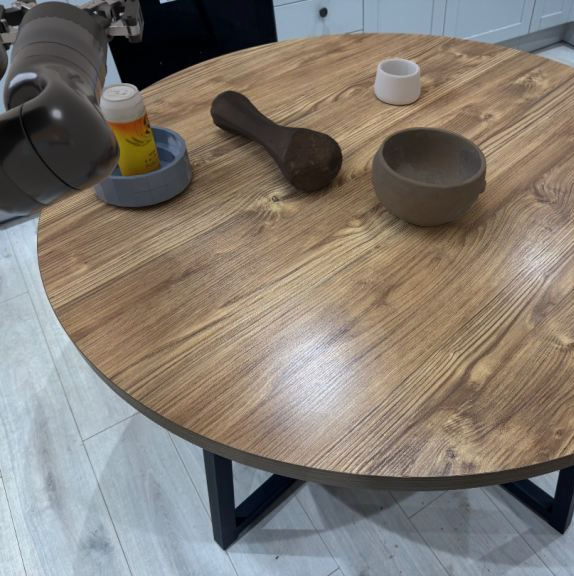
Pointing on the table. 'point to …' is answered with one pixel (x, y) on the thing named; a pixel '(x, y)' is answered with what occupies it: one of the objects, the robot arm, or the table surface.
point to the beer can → (130, 128)
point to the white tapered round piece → (397, 81)
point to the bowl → (428, 175)
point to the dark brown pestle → (281, 142)
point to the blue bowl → (151, 175)
